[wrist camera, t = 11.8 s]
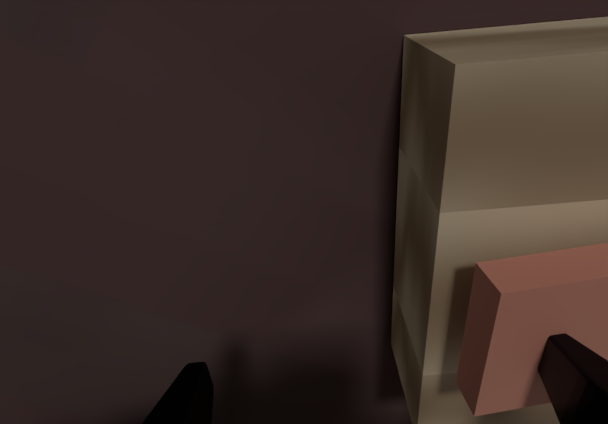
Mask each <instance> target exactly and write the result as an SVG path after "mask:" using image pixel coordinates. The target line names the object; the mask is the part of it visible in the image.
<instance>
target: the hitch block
mask: <svg viewBox="0 0 608 424" xmlns="http://www.w3.org/2000/svg"><path fill="white" fill-rule="evenodd" d="M603 243H608V17H599V18H588V19H577V20H566V21H555V22H544V23H533V24H522V25H511V26H500V27H488V28H477V29H466V30H455V31H444V32H433V33H422V34H411V35H404V44H403V68H402V92H401V115H400V139H399V163H398V187H397V211H396V235H395V258H394V282H393V306H392V330H391V346H392V349H393V353H394V357H395V361H396V364H397V368H398V372H399V376H400V380H401V383H402V387H403V391H404V395H405V398H406V402H407V406H408V410H409V413H410V417H411V421H412V424H560V423H559V420H558V418H557V416H556V413H555V411H554V408H553V406H552V404H551V403H547V404H541V405H536V406H530V407H525V408H519V409H513V410H508V411H502V412H497V413H491V414H486V415H480V416H475V417H474V416H473V414H472V412H471V410H470V408H469V406H468V404H467V402H466V401H465V399H464V397H463V395H462V393H461V391H460V389H459V387H458V385H457V383H456V376H457V370H458V364H459V359H460V353H461V347H462V341H463V335H464V329H465V324H466V318H467V312H468V306H469V300H470V295H471V289H472V283H473V277H474V271H475V265H476V263H477V262H484V261H490V260H497V259H504V258H510V257H517V256H523V255H530V254H537V253H543V252H550V251H556V250H563V249H570V248H576V247H583V246H589V245H596V244H603Z"/></svg>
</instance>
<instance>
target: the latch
mask: <svg viewBox="0 0 608 424" xmlns="http://www.w3.org/2000/svg"><path fill="white" fill-rule="evenodd" d="M563 333H566V334H568V335H569V336H571V337H572V338H574V339H576V340H577V341H579V342H580V343H582V344H583V345H585V346H586V347H588V348H589V349H591V350H592V351H594V352H595V353H597V354H599V355H600V356H602V357H603V358H605V359H606V360H608V243H603V244H596V245H589V246H583V247H576V248H570V249H563V250H556V251H550V252H543V253H537V254H530V255H523V256H517V257H510V258H504V259H497V260H490V261H484V262H477V263H476V265H475V271H474V277H473V283H472V289H471V295H470V300H469V306H468V312H467V318H466V324H465V329H464V335H463V341H462V347H461V353H460V359H459V364H458V370H457V376H456V383H457V385H458V387H459V389H460V391H461V393H462V395H463V397H464V399H465V401H466V402H467V404H468V406H469V408H470V410H471V412H472V414H473V416H474V417H475V416H480V415H486V414H491V413H497V412H502V411H508V410H513V409H519V408H525V407H530V406H536V405H541V404H547V403H551V401H550V399H549V397H548V394H547V392H546V389H545V387H544V385H543V382H542V380H541V378H540V375H539V373H538V367H539V363H540V360H541V357H542V354H543V351H544V348H545V345H546V342H547V339H548V337H549V336H551V335H556V334H563Z"/></svg>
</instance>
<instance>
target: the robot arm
mask: <svg viewBox="0 0 608 424" xmlns="http://www.w3.org/2000/svg"><path fill="white" fill-rule="evenodd" d="M538 373H539V375H540V378H541V380H542V382H543V385H544V387H545V389H546V392H547V394H548V397H549V399H550V401H551V404H552V406H553V408H554V411H555V413H556V416H557V418H558V420H559V423H560V424H608V360H606V359H605V358H603V357H602V356H600V355H599V354H597V353H595V352H594V351H592V350H591V349H589V348H588V347H586V346H585V345H583V344H582V343H580V342H579V341H577V340H576V339H574V338H572V337H571V336H569V335H568V334H566V333H563V334H556V335H551V336H549V337H548V339H547V342H546V345H545V348H544V351H543V354H542V357H541V360H540V363H539V367H538ZM213 394H214V392H213V383H212V380H211V377H210V373H209V370H208V367H207V365H206V363H205V362H195V363H188V364H187V365H186V366H185V367H184V368H183V370H182V371H181V372H180V374H179V375H178V376H177V378H176V379H175V380H174V382H173V383H172V384H171V386H170V387H169V388H168V390H167V391H166V392H165V394H164V395H163V396H162V398H161V399H160V400H159V402H158V403H157V404H156V406H155V407H154V408H153V410H152V411H151V412H150V414H149V415H148V416H147V418H146V419H145V420H144V422H143V423H142V424H211V421H212V408H213Z"/></svg>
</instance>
